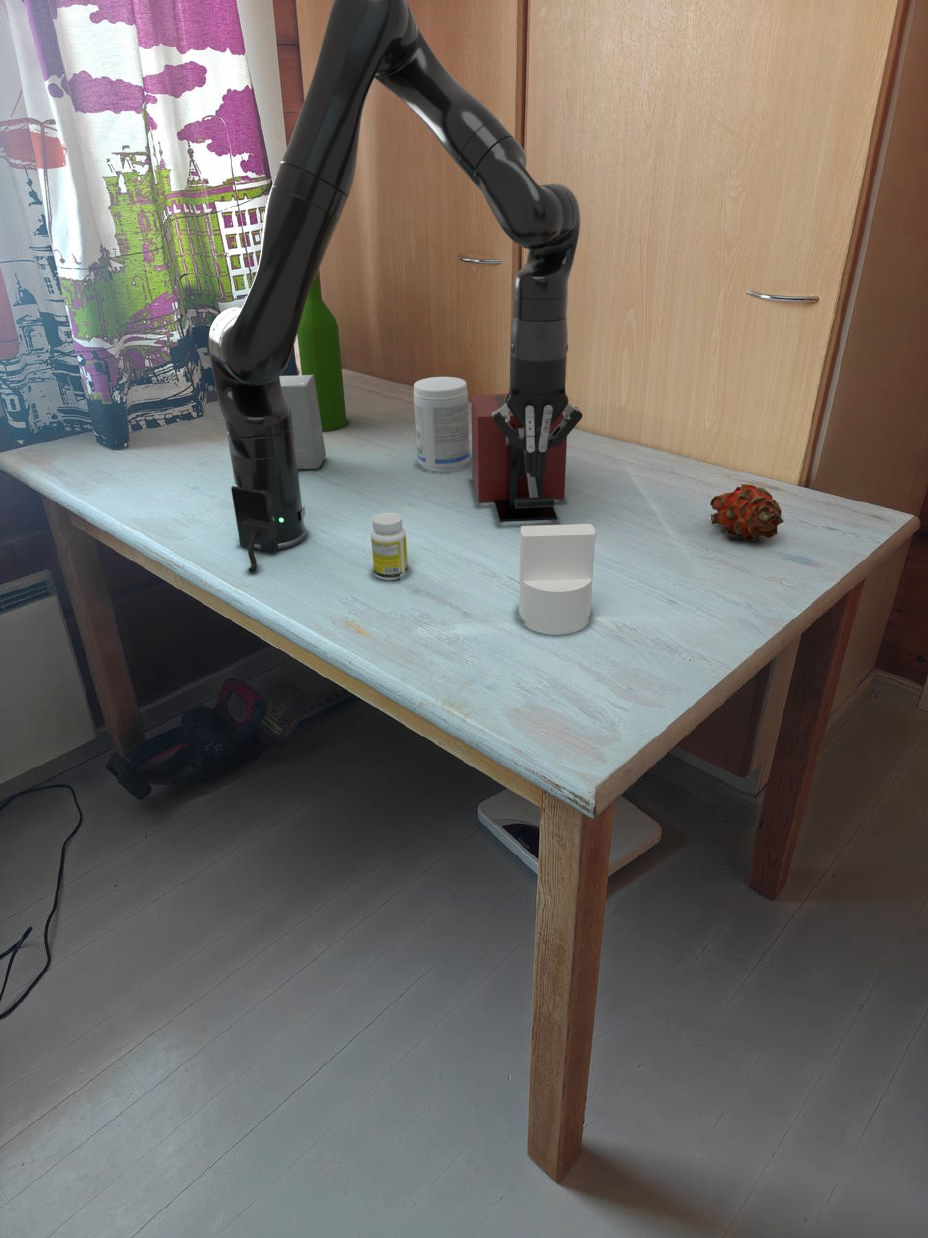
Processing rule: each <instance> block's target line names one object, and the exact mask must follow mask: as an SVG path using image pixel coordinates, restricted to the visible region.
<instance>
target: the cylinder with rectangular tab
mask: <svg viewBox="0 0 928 1238" xmlns="http://www.w3.org/2000/svg"><path fill="white" fill-rule="evenodd" d="M519 533H520V535H519V536H520V537H519V539H520V540H519V541H520V542H519V588H518V589H519V590H518V591H519V593H518V613H519V615H520V617H521V618H522V619H520V620H519V621H520V623H521V624H522V626H524V627H525V628H527V629H529V630H531V631H533V632H536V633H538V634H545V635H550V636H551V635H552V636H553V635H554V636H560V635H570V634H573V633H576V632H579V631H581V630H583V629H584V628H585V627H586V626H588V624H589V622H590V620H591V616H590V615H591V608H592V591H593V575H594V561H595V559H594V558H595V548H596V547H595V546H596V545H595V543H596V528H595V527H594V525H593V524H592V523H580V524H575V523H574V524H546V525H543V524H542V525H520V531H519Z"/></svg>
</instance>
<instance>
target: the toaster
mask: <svg viewBox="0 0 928 1238" xmlns="http://www.w3.org/2000/svg"><path fill="white" fill-rule="evenodd" d="M508 394H509V393H492V394H491V393H489V394H487V393H486V394H471V396H470V397H471V400H470V401H471V402H470V403H471V467H472V468H471V469H472V470H471V472H472V474H471V475H472V481H473V485H474V489H475V493H476V497H477V502H478V503H479V504H484V503H494V500H503V499H507V446H506V442H505V438H506V436H505V434H504V433H503V432H502V431H501V429H500V428H499V427H498V426H497V425H496V423H495V422H494V420H493V418H492V411H493V410H495V409H497V410H498V409H499V408H501V407H502V406H503V405H504V404H506V398H507V396H508ZM563 413H564V410H563V412H562V413H561V414H560V416H559V417H558V418H557V420H556V421H555V422H554V423H553V424H552V425H551V426H550V434H549V436H550V435H551V433H552V432H553V431H554V430H555V428H556V427H557V426H558V425H559V424H560V422H561V421H562V420H563V419H564V418H563ZM509 416H510V421H509V424H510V425H514V426H515V429H516V431H517V433H518V428H523V426H522V425H521V424H520V423H519V422H518V421H517V419H516V418H515V416H514V415H513V414H512V412H511V411H509ZM567 444H568V436H567V437H566V438H565V439H564V440H563V442H562V443H561V444H560V445H559V446H558V447H552V448H550V449H548V450H547V452H546V470H545V472H544V473H543V487H542V497H554V500H564V499H565V494H566V493H565V491H566V468H567ZM517 498H530V497H529V490H528V483H527V476H526V469H525V462H524V455H523V452H522V453H519V451H518V449H517Z"/></svg>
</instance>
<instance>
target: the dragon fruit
mask: <svg viewBox="0 0 928 1238" xmlns="http://www.w3.org/2000/svg"><path fill="white" fill-rule="evenodd" d="M708 504H710V505H709V506H711V509H712V510H714V511H717V512H715V513H711V514H710V521H711V524H712V525H718V526H725V527H727V531H726V534H727V537H728V538H730V539H737V538H739V537H740V536H742V538H743V540H745V541H749V542H758V540H759V539H760V538H761V537H764V538H768V539H771V538H773V537H775V536H777V535H778V527H779V525H781V524H782V523H785V521H784V519H783V517H782V508H781V506H780V504H779V503H778V501H777V500H776V499H774V498H773V495H772V494H771V493H770V492H769V491H768V490H767V489H766V488H765V487H761V486H760V487H757V486H755V485H753V484H748V483H747V484H746V483H742V484H740V486H736V488H735V489H734V491H732V492H725V493H722V494H719V495H715V496H714V497H713V498H712V499H711V500H710V502H709V503H707V505H708Z"/></svg>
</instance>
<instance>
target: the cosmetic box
mask: <svg viewBox="0 0 928 1238" xmlns="http://www.w3.org/2000/svg"><path fill="white" fill-rule="evenodd" d="M279 377H280V383H281V387H282V391H283V393H284V396H285V398H286V400H287V403H288V405H289V407H290V410H291V416H292V425H293V433H294V442H295V451H296V459H297V468H298V470H319V469H320V467H321V465H322V464H323V462H324V461H325V459H326V456H327V453H326V446H325V439H324V438H325V437H324V431H322V425H321V419H320V412H319V406H318V399H317V392H316V386H315V379H314V375H298V376H297V375H280V376H279Z"/></svg>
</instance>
